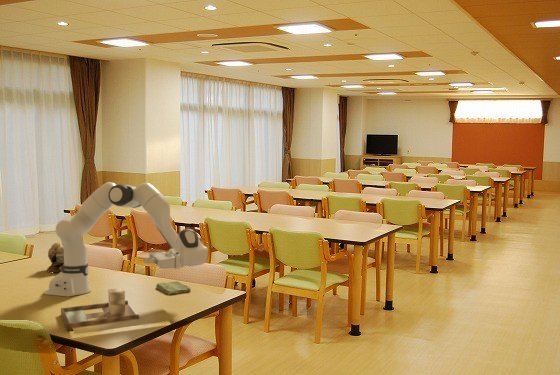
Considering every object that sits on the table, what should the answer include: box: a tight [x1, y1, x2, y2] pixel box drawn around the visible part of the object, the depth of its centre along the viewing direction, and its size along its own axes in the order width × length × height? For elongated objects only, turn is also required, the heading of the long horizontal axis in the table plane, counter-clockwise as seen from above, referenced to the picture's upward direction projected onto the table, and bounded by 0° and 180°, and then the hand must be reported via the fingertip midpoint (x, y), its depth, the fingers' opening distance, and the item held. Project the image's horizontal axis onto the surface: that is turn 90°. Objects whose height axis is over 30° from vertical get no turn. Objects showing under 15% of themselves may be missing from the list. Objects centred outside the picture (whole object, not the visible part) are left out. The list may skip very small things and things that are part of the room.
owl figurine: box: [46, 242, 64, 274], centre depth 335 cm, size 18×12×17 cm, turn 45°
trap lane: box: [60, 299, 140, 332], centre depth 249 cm, size 29×24×3 cm
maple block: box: [107, 287, 126, 315], centre depth 252 cm, size 6×6×10 cm
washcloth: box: [155, 280, 192, 296], centre depth 296 cm, size 13×18×3 cm
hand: (143, 260), depth 256 cm, fingers closed
